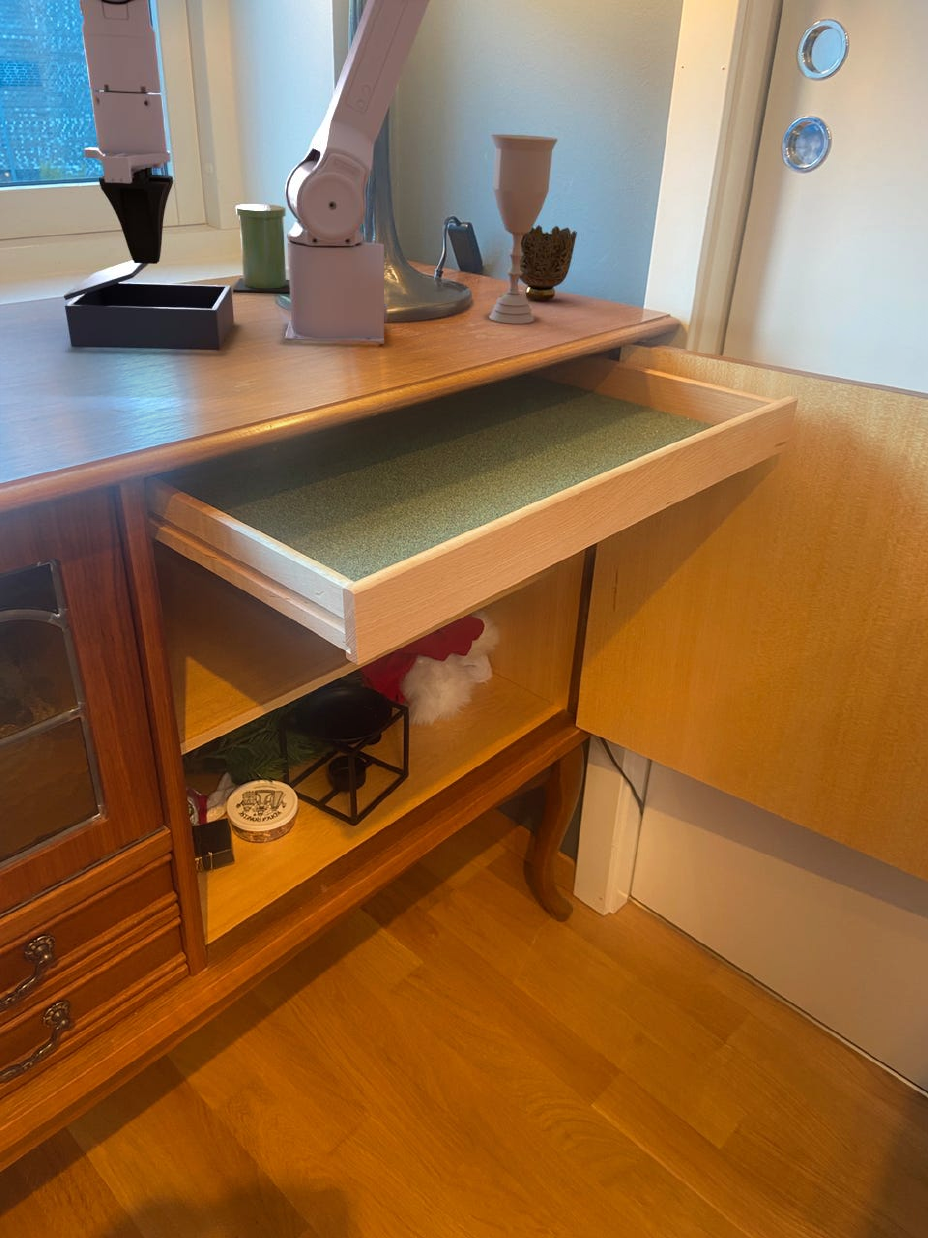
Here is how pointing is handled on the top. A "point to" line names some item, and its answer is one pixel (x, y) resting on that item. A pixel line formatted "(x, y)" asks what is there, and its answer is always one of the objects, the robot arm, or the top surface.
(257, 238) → the pot
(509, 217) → the chalice
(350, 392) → the top surface
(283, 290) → the mat
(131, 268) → the flap
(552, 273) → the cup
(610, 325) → the top surface
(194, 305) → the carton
